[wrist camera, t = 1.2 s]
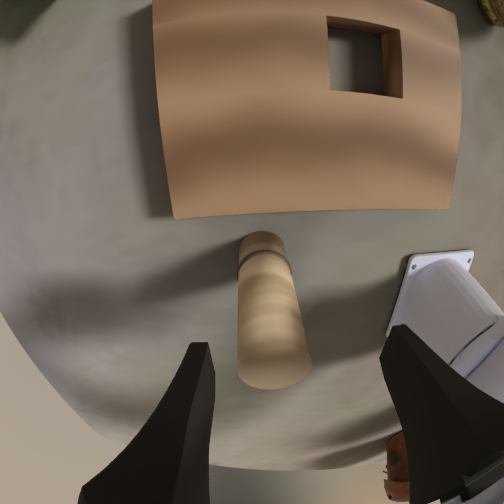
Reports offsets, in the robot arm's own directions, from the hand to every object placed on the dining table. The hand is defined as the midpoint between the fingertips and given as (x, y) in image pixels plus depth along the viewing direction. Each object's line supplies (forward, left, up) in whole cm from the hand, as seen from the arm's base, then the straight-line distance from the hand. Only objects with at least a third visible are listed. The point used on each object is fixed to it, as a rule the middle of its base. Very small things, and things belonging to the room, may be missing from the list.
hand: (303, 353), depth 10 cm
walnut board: (+9, -3, -10) cm, 14 cm away
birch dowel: (-2, +1, -10) cm, 11 cm away
